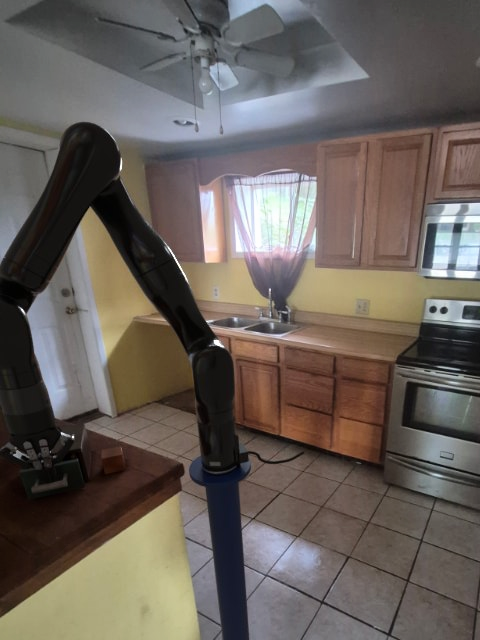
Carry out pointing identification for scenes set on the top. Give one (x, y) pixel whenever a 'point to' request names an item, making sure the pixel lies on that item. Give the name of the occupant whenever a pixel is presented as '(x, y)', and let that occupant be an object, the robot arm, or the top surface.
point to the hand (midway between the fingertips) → (49, 481)
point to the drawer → (65, 479)
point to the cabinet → (77, 447)
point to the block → (113, 460)
